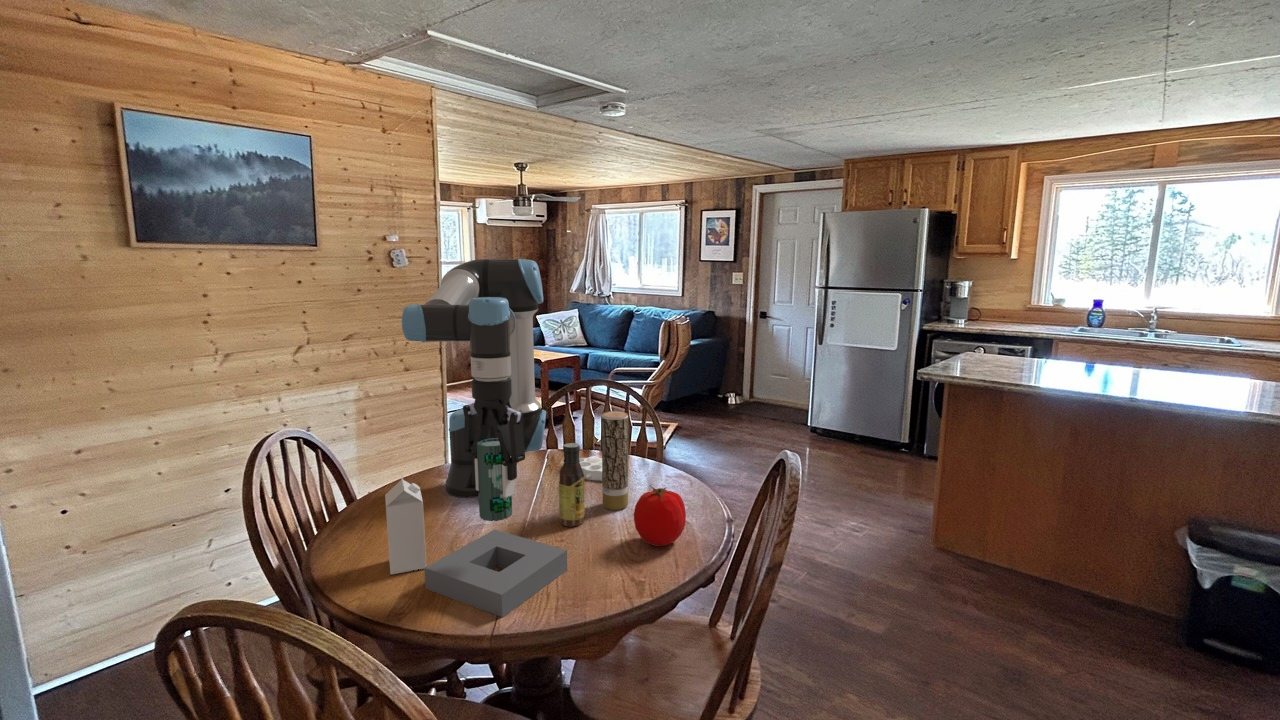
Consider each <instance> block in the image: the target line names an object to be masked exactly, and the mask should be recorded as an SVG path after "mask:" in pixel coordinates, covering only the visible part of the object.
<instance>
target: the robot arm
mask: <svg viewBox="0 0 1280 720" xmlns="http://www.w3.org/2000/svg"><path fill="white" fill-rule="evenodd" d="M543 292H544V291H543V284H542V277H541V273H540V268H539V265H538V263H537V262H536V261H534V260H532V259H525V258H524V259H523V258H505V259H504V258H501V259H499V258H497V259H496V258H494V259H493V258H492V259H489V258H488V259H486V258H479V259H478V258H477V259H473V260H468V261H465V262H463V263H460V264H458V265H456V266H454V267H453V268H451V269H450V270H448V271H447V272H446V273H445V274H444V275H443V277H442V278H441V280H440V285H439V287H438V289H436V290H435V292H434V293H433V294H432V295H431V296H430V298H428V300H427V301H426V302H425V303H424V304H420V303H417V304H409V305H406V306H405V307H404V308H403V310H402V314H401V329H402V333H403V336H404V338H405V339H406V340H407V341H409V342H422V343H430V342H433V343H435V342H469V343H470V344H469V345H470V347H469V348H470V371H471V372H470V373H471V374H470V375H471V377H472V378H473V379H472V380H471V397H472V398H473V399H474V401H473V402H472V403H469V404H465V405H463V406H462V408H459V409H458V410H456V411H454V412H452V413H451V414H450V416H449V425H448V427H449V428H448V432H449V445H450V446H449V447H450V449H449V451H450V467H449V469H448V475H447V478H446V480H445V492H446V493H447V494H448V495H450V496H453V497H458V498H476V497H477V498H479V490H478V464H477V442H479V441H482V440H485V439H490V438H491V439H492V438H498V439H499V442H500V446H501V450H502V453H503V457H504V460H505V463H503V464H502V484H503V497H508V496H510V495H512V496H513V495H514V494H515V493H516V485H515V484H516V480H515V479H517V478H518V477H517V476H518V469H517V467H518V465H517V464H518V463H520V462H523V461H524V460H525V459H526V453H527V452H537V451H540V450H541V449H542V447H543V444H544V433H545V427H546V419H547V418H546V417H547V411H546V410H545V409H542V403H541V402H539V401H538V400H537V399H536V385H535V382H536V381H535V378H536V377H535V351H534V349H535V348H534V347H535V346H534V318H533V317H534V315H535V314H536V313H537V312H538V311H539V305H541V304H543V303H544V293H543ZM510 456H511V458H510Z"/></svg>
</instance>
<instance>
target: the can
mask: <svg viewBox="0 0 1280 720" xmlns="http://www.w3.org/2000/svg"><path fill="white" fill-rule="evenodd" d="M510 458H511V456H510ZM503 463H505V460H504V457H503V453H502V450H501V446H500V442H499V439H498V438H492V439H491V438H490V439H485V440H482V441H479V442H477V464H478V490H479V496H478V509H479V511H478V512H479V513H478V514H479V518H480V519H482V520H483V521H487V522H498V521H499V522H500V521H503V520H505V519H508V518H510V517H511V516H512V515H513V494H512V495H510V496H508V497H503V484H502V464H503Z"/></svg>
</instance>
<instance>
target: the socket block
mask: <svg viewBox="0 0 1280 720" xmlns="http://www.w3.org/2000/svg"><path fill="white" fill-rule="evenodd" d="M496 567H499V568H502V570H500V571H497V570H494V569H495V568H496ZM423 571H424V586H425V588H426V589H425V590H427V589H428V591H430V590H431V592H433V593H435V592H436V594H438V595H441V596H443V595H444V597H447V598H449V599H452V600H454V601H458V602H460V603H462V604H465V605H467V606H470V607H473V608H476V609H478V610H481V611H483V612H486V613H490V614H492V615H495V616H497V617H500V618H504V617H505V616H507V615H508V614H509V613H511V612H512V611H513V610H515V609H516V608H518V607H519V606H521V605H522V604H523V603H525V602H526V601H527V600H529V599H530V598H531V597H533V596H534V595H535V594H537V593H538V592H539V591H542V589H544V588H545V587H547V585H549V584H551V583H552V582H554V580H556V579H557V578H559V577H560V576H561V575H563V574H564V573H565V572H567V571H568V550H567V549H564V548H560V547H557V546H555V545H550V544H548V543H547V544H546V543H544V542H540V541H536V540H533V539H531V538H530V539H529V538H525V537H521V536H519V535H516V534H512V533H508V532H505V531H502V530H498V529H493V530H491V531H489V532H488V533H485V534H484V535H482V536H480V537H478V538H476V539H474V540H473V541H470V542H468V543H467V544H465V545H464V546H461V547H460V548H458V549H456V550H454V551H452V552H450V553H449V554H446V555H445V556H443V557H442V558H439V559H438V560H436V561H434V562H432V563H430V564H429V565H426V567H425V568H424V569H423Z"/></svg>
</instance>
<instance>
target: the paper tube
mask: <svg viewBox="0 0 1280 720" xmlns="http://www.w3.org/2000/svg"><path fill="white" fill-rule="evenodd" d="M601 415H602V416H601V446H602V447H601V458H602V481H601V482H602V485H601V487H602V490H601V491H602V506H603V508H605V509H606V510H610V511H620V510H624V509H625V508H627V507H628V505H629V414H628V413H626V412H623V411H617V410H616V411H606V412H603V413H602V414H601Z"/></svg>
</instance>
